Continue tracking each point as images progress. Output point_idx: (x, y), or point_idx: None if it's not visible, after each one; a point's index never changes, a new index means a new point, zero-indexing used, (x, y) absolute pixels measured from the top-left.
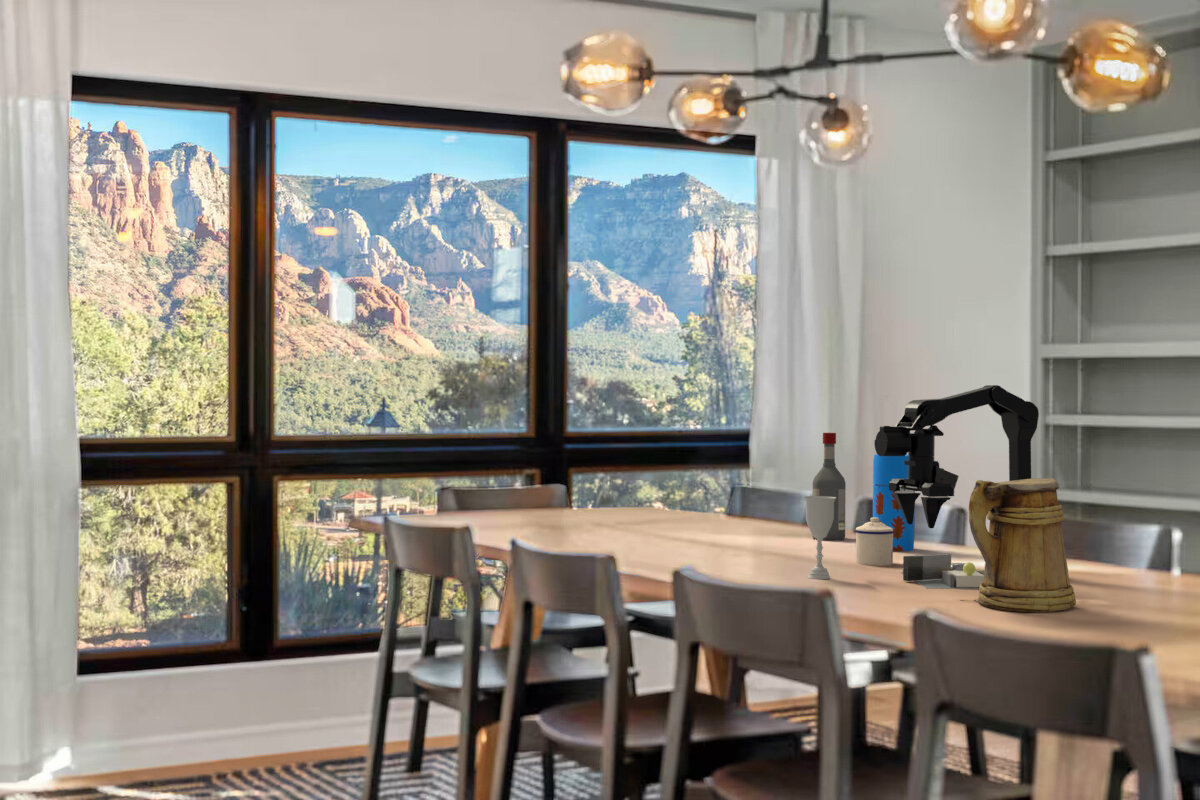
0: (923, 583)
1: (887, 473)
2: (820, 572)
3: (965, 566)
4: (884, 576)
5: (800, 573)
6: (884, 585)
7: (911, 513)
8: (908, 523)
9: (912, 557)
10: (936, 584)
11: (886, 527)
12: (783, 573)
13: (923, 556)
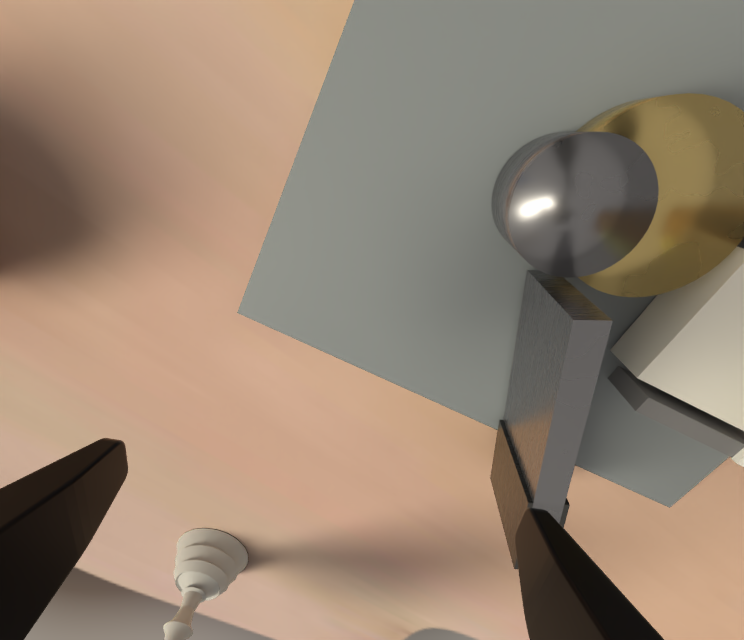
0: None
1: None
2: (230, 582)
3: None
4: (240, 371)
5: (102, 543)
6: (449, 505)
7: (28, 546)
8: (123, 477)
9: None
10: (624, 424)
11: None
12: (96, 574)
13: (564, 496)
